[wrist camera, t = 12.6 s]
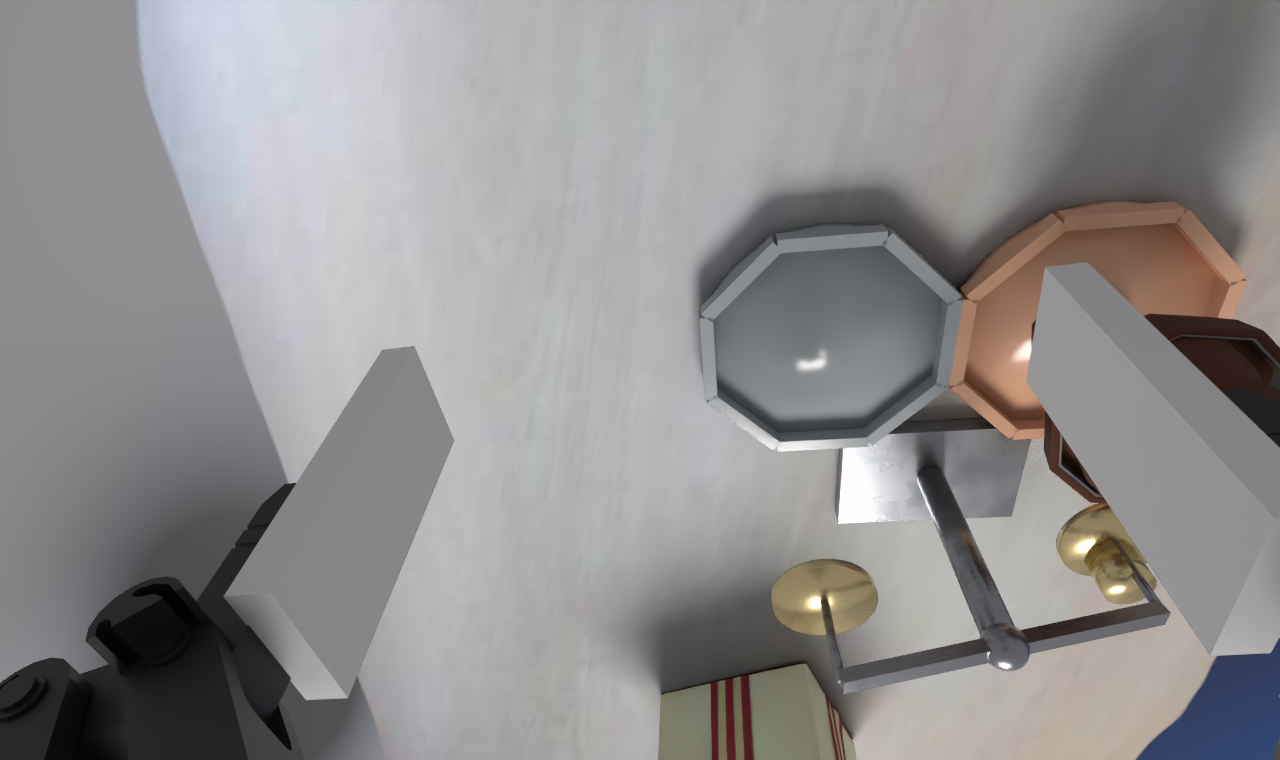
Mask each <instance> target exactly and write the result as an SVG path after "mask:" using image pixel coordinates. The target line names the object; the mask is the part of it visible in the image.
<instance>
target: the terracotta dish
mask: <svg viewBox="0 0 1280 760" xmlns="http://www.w3.org/2000/svg"><path fill="white" fill-rule="evenodd" d="M1084 262H1088V263H1089V264H1090V265H1091V266H1092V267H1093V268H1094V269H1095V270H1096V271H1097V272H1098V273H1099V274H1100V275H1101V276H1102V277H1103V278H1104V279H1105V280H1106V281H1107V282H1108V283H1109V284H1111V285H1112V286H1113V287H1114V288H1115V289H1116V290H1117V291H1118V292H1119V293H1120V294H1121V295H1122V296H1123V297H1124V298H1125V299H1126V300H1127V301H1128V302H1129V303H1130V304H1131V305H1132V306H1133V307H1134V308H1135V309H1136V310H1137V311H1139V312H1140V313H1141V314H1142V315H1143V316H1145V315H1147V314H1167V315H1185V316H1203V317H1216V318H1225V319H1232V317H1233V315H1234V312H1235V310H1236V308H1237V305H1238V303H1239V300H1240V298H1241V295H1242V293H1243V290H1244V288H1245V285H1246V283H1247V280H1246V279H1244V278H1245V277H1247V276H1246V275H1245V274H1244V272H1243V271H1242V270H1241V269H1240V268H1239V266H1238V265H1237V264H1236V263H1235V262H1234V261H1233V259H1232V258H1231V257H1230V256H1229V255H1228V254H1227V252H1226V251H1225V250H1224V249H1223V248H1222V247H1221V245H1220V244H1219V243H1218V242H1217V241H1216V239H1215V238H1214V237H1213V236H1212V235H1211V234H1210V232H1209V231H1208V230H1207V229H1206V228H1205V227H1204V225H1203V224H1202V223H1201V222H1200V221H1199V220H1198V218H1197V217H1196V216H1195V215H1194V214H1193V212H1192V211H1191V210H1190V209H1188V208H1187V207H1185V206H1183V205H1182V204H1180V203H1176V202H1174V201H1170V202H1157V203H1145V202H1137V201H1128V200H1118V201H1102V202H1095V203H1088V204H1084V205H1080V206H1076V207H1072V208H1068V209H1066V210H1058V211H1057V213H1055V214H1052V213H1051V214H1050V215H1048V216H1047V217H1045V218H1043V219H1041V220H1039V221H1037V222H1035V223H1033V224H1031V225H1029V226H1028V227H1026V228H1024V229H1023V230H1021V231H1019V232H1018V233H1016V234H1014V235H1013V236H1012V237H1010V238H1009V239H1008V240H1006V241H1005V242H1004V243H1002V244H1001V245H1000V246H998V247H997V248H996V249H995V250H994V251H993V252H992V253H991V254H990V255H989V256H988V257H987V258H985V259H984V261H983V262H982V263H981V264H980V265H979V266H978V267H977V269H976V270H975V271H974V272H973V273H972V275H971V276H970V278H969V279H968V280H967V282H966V283H965V285H963V286H962V287H961V291H960V292H959V293H960V294H961V296H962V297H961V298H962V299H963V305H962V311H961V317H960V323H959V329H958V336H957V342H956V348H955V354H954V360H953V366H952V372H951V378H950V384H949V387H950V389H951V390H952V391H953V392H954V393H956V394H957V395H958V396H959V397H960V398H961V399H963V400H964V401H965V402H966V403H967V404H969V405H970V406H971V407H972V408H973V409H974V410H976V411H977V412H978V413H979V414H980V415H982V416H983V417H984V418H985V419H986V420H987V421H989V422H990V423H991V424H992V425H993V426H995V427H996V428H997V429H998V430H999V431H1000V432H1002V433H1003V434H1004V435H1005V436H1006V437H1007V438H1012V439H1013V440H1019V439H1039V438H1044V427H1045V409H1044V408H1043V406H1042V405H1041V403H1040V402H1039V400H1038V399H1037V397H1036V396H1035V394H1034V393H1033V391H1032V390H1031V388H1030V387H1029V385H1028V384H1027V382H1026V377H1027V372H1028V366H1029V360H1030V354H1031V335H1032V324H1033V323H1034V321H1035V320H1036V318H1037V312H1038V306H1039V300H1040V294H1041V288H1042V282H1043V276H1044V270H1045V267H1052V266H1060V265H1068V264H1076V263H1084Z"/></svg>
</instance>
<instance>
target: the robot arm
mask: <svg viewBox="0 0 1280 760" xmlns="http://www.w3.org/2000/svg"><path fill="white" fill-rule="evenodd" d="M1026 382H1027V384H1028V385H1029V387H1030V388H1031V390H1032V391H1033V393H1034V394H1035V396H1036V397H1037V399H1038V400H1039V402H1040V403H1041V405H1042V406H1043V408H1044V409H1045V411H1046V412H1047V414H1048V415H1049V417H1050V418H1051V420H1052V421H1053V422H1054V424H1055V425H1056V427H1057V428H1058V430H1059V431H1060V433H1061V434H1062V436H1063V437H1064V439H1065V440H1066V442H1067V443H1068V445H1069V446H1070V448H1071V449H1072V451H1073V452H1074V454H1075V455H1076V457H1077V458H1078V460H1079V461H1080V463H1081V464H1082V466H1083V467H1084V469H1085V470H1086V472H1087V473H1088V475H1089V476H1090V478H1091V479H1092V481H1093V482H1094V484H1095V485H1096V487H1097V488H1098V490H1099V491H1100V493H1101V494H1102V496H1103V497H1104V499H1105V500H1106V502H1107V503H1108V505H1109V506H1110V507H1111V509H1112V510H1113V512H1114V513H1115V515H1116V516H1117V518H1118V519H1119V521H1120V522H1121V524H1122V525H1123V527H1124V528H1125V530H1126V531H1127V533H1128V534H1129V536H1130V537H1131V539H1132V540H1133V542H1134V543H1135V545H1136V546H1137V548H1138V549H1139V551H1140V552H1141V554H1142V555H1143V557H1144V558H1145V560H1146V561H1147V563H1148V564H1149V566H1150V567H1151V569H1152V570H1153V572H1154V573H1155V575H1156V576H1157V578H1158V579H1159V581H1160V582H1161V584H1162V585H1163V587H1164V588H1165V590H1166V591H1167V592H1168V594H1169V595H1170V597H1171V598H1172V600H1173V601H1174V603H1175V604H1176V606H1177V607H1178V609H1179V610H1180V612H1181V613H1182V615H1183V616H1184V618H1185V619H1186V621H1187V622H1188V624H1189V625H1190V627H1191V628H1192V630H1193V631H1194V633H1195V634H1196V636H1197V637H1198V639H1199V640H1200V642H1201V643H1202V645H1203V646H1204V648H1205V649H1206V651H1207V652H1208V654H1209V655H1210V656H1218V655H1238V654H1259V653H1271V651H1272V649H1273V648H1274V646H1275V644H1276V642H1277V641H1278V639H1279V637H1280V404H1278V403H1276V402H1274V401H1272V400H1270V399H1268V398H1266V397H1264V396H1262V395H1260V394H1258V393H1256V392H1254V391H1252V390H1250V389H1248V388H1245V389H1235V390H1225V391H1220V390H1219V389H1218V388H1217V387H1216V386H1215V385H1214V384H1213V383H1212V382H1211V381H1210V380H1209V379H1208V378H1207V377H1206V376H1205V375H1204V374H1203V373H1202V372H1201V371H1200V370H1199V369H1198V368H1197V367H1196V366H1195V365H1193V364H1192V363H1191V362H1190V361H1189V360H1188V359H1187V358H1186V357H1185V356H1184V355H1183V354H1182V353H1181V352H1180V351H1179V350H1178V349H1177V348H1176V347H1175V346H1174V345H1173V344H1172V343H1171V342H1170V341H1169V340H1168V339H1167V338H1165V337H1164V336H1163V335H1162V334H1161V333H1160V332H1159V331H1158V330H1157V329H1156V328H1155V327H1154V326H1153V325H1152V324H1151V323H1150V322H1149V321H1148V320H1147V319H1146V318H1145V317H1144V316H1143V315H1142V314H1141V313H1140V312H1139V311H1137V310H1136V309H1135V308H1134V307H1133V306H1132V305H1131V304H1130V303H1129V302H1128V301H1127V300H1126V299H1125V298H1124V297H1123V296H1122V295H1121V294H1120V293H1119V292H1118V291H1117V290H1116V289H1115V288H1114V287H1113V286H1112V285H1111V284H1109V283H1108V282H1107V281H1106V280H1105V279H1104V278H1103V277H1102V276H1101V275H1100V274H1099V273H1098V272H1097V271H1096V270H1095V269H1094V268H1093V267H1092V266H1091V265H1090V264H1089V263H1088V262H1084V263H1076V264H1068V265H1060V266H1052V267H1045V270H1044V276H1043V282H1042V288H1041V294H1040V300H1039V306H1038V312H1037V318H1036V324H1035V330H1034V336H1033V342H1032V348H1031V354H1030V360H1029V366H1028V372H1027V377H1026ZM453 442H454V439H453V436H452V434H451V432H450V429H449V427H448V424H447V422H446V420H445V417H444V415H443V413H442V410H441V408H440V406H439V403H438V401H437V399H436V396H435V394H434V391H433V389H432V387H431V384H430V382H429V380H428V377H427V375H426V373H425V370H424V368H423V366H422V363H421V361H420V358H419V356H418V354H417V351H416V349H415V347H414V346H411V347H403V348H395V349H387V350H382V351H381V353H380V354H379V356H378V357H377V359H376V360H375V362H374V364H373V365H372V367H371V368H370V370H369V371H368V373H367V374H366V376H365V377H364V379H363V381H362V382H361V384H360V385H359V387H358V388H357V390H356V391H355V393H354V395H353V396H352V398H351V399H350V401H349V402H348V404H347V405H346V407H345V409H344V410H343V412H342V413H341V415H340V416H339V418H338V419H337V421H336V423H335V424H334V426H333V427H332V429H331V430H330V432H329V433H328V435H327V436H326V438H325V440H324V441H323V443H322V444H321V446H320V447H319V449H318V450H317V452H316V454H315V455H314V457H313V458H312V460H311V461H310V463H309V464H308V466H307V468H306V469H305V471H304V472H303V474H302V475H301V477H300V478H299V480H298V482H297V483H291V484H285V485H283V486H282V487H281V488H280V489H279V490H278V491H277V492H276V493H274V494H273V495H272V496H271V497H270V498H269V499H268V500H266V502H264V503H263V504H262V505H261V507H260V508H259V510H258V511H257V513H256V514H255V516H254V517H253V519H252V520H251V521H250V523H249V524H248V526H247V527H248V530H246V531H244V532H243V533H242V535H241V536H240V538H239V539H238V541H237V542H236V544H235V545H236V547H235V548H234V549H232V550H231V551H230V553H229V554H228V555H227V557H226V558H225V560H224V561H223V563H222V564H221V566H220V568H219V569H218V570H217V572H216V573H215V575H214V576H213V578H212V579H211V581H210V582H209V584H208V585H207V586H206V588H205V589H204V591H203V592H202V594H201V596H200V597H199V598H198V600H197V601H196V600H195V599H194V598H193V597H192V595H191V594H190V593H189V592H188V591H187V589H186V588H185V587H184V586H183V585H182V584H181V582H180V581H179V580H178V579H175V578H170V577H161V578H154V579H149V580H147V581H145V582H142V583H140V584H138V585H135V586H133V587H131V588H130V589H128V590H126V591H125V592H124V593H122V594H121V595H119V596H117V597H116V598H114V599H113V600H112V601H111V602H110V603H109V604H108V605H107V606H106V607H105V608H104V609H102V610H101V611H100V612H99V613H98V615H97V616H96V618H95V619H94V621H93V622H92V624H91V625H90V626H89V629H88V633H87V637H86V642H87V643H88V644H89V645H90V646H91V647H92V648H93V649H94V650H95V651H97V653H99V654H100V655H101V656H102V657H103V658H104V659H105V660H106V661H107V662H108V663H109V665H106V666H103V667H100V668H97V669H94V670H91V671H88V672H85V673H82V674H79V673H78V672H77V671H76V670H75V669H74V668H73V667H72V666H71V665H70V664H69V663H67V662H66V661H65V660H64V659H59V658H48V659H45V660H42V661H38V662H35V663H32V664H30V665H28V666H26V667H24V668H23V669H21V670H19V671H17V672H15V673H14V674H12V675H11V676H9V677H8V678H7V679H6V680H4V681H2V682H1V683H0V760H305V759H304V756H303V753H302V750H301V747H300V744H299V741H298V739H297V735H296V732H295V729H294V726H293V723H292V721H291V718H290V715H289V712H288V711H287V710H286V708H285V707H284V705H283V704H282V703H281V702H280V700H281V698H282V696H283V694H284V692H285V690H286V688H287V686H288V684H289V682H290V680H291V682H292V683H293V684H294V685H295V687H296V688H297V689H298V690H299V692H300V693H301V694H302V695H303V697H304V698H305V699H306V700H313V699H314V700H315V699H335V698H348V696H349V694H350V692H351V689H352V687H353V684H354V682H355V679H356V677H357V675H358V672H359V670H360V667H361V665H362V663H363V660H364V658H365V655H366V653H367V650H368V648H369V646H370V643H371V641H372V638H373V636H374V633H375V631H376V629H377V626H378V624H379V621H380V619H381V617H382V614H383V612H384V609H385V607H386V604H387V602H388V600H389V597H390V595H391V592H392V590H393V587H394V585H395V583H396V580H397V578H398V575H399V573H400V571H401V568H402V566H403V563H404V561H405V558H406V556H407V554H408V551H409V549H410V546H411V544H412V541H413V539H414V537H415V534H416V532H417V529H418V527H419V525H420V522H421V520H422V517H423V515H424V512H425V510H426V508H427V505H428V503H429V500H430V498H431V495H432V493H433V491H434V488H435V486H436V483H437V481H438V479H439V476H440V474H441V471H442V469H443V466H444V464H445V462H446V459H447V457H448V454H449V452H450V449H451V447H452V445H453ZM1278 697H1280V695H1279V696H1278ZM1273 760H1280V736H1279V740H1278V743H1277V747H1276V751H1275V755H1274V759H1273Z"/></svg>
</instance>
